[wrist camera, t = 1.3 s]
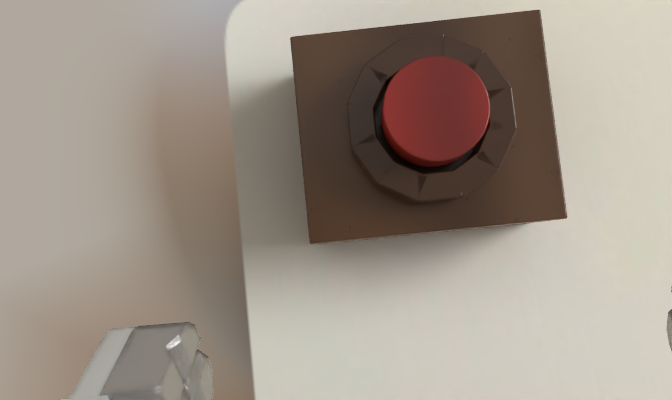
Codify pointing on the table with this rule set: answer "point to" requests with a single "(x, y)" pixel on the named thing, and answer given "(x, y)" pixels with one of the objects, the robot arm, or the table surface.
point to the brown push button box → (409, 179)
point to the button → (434, 111)
